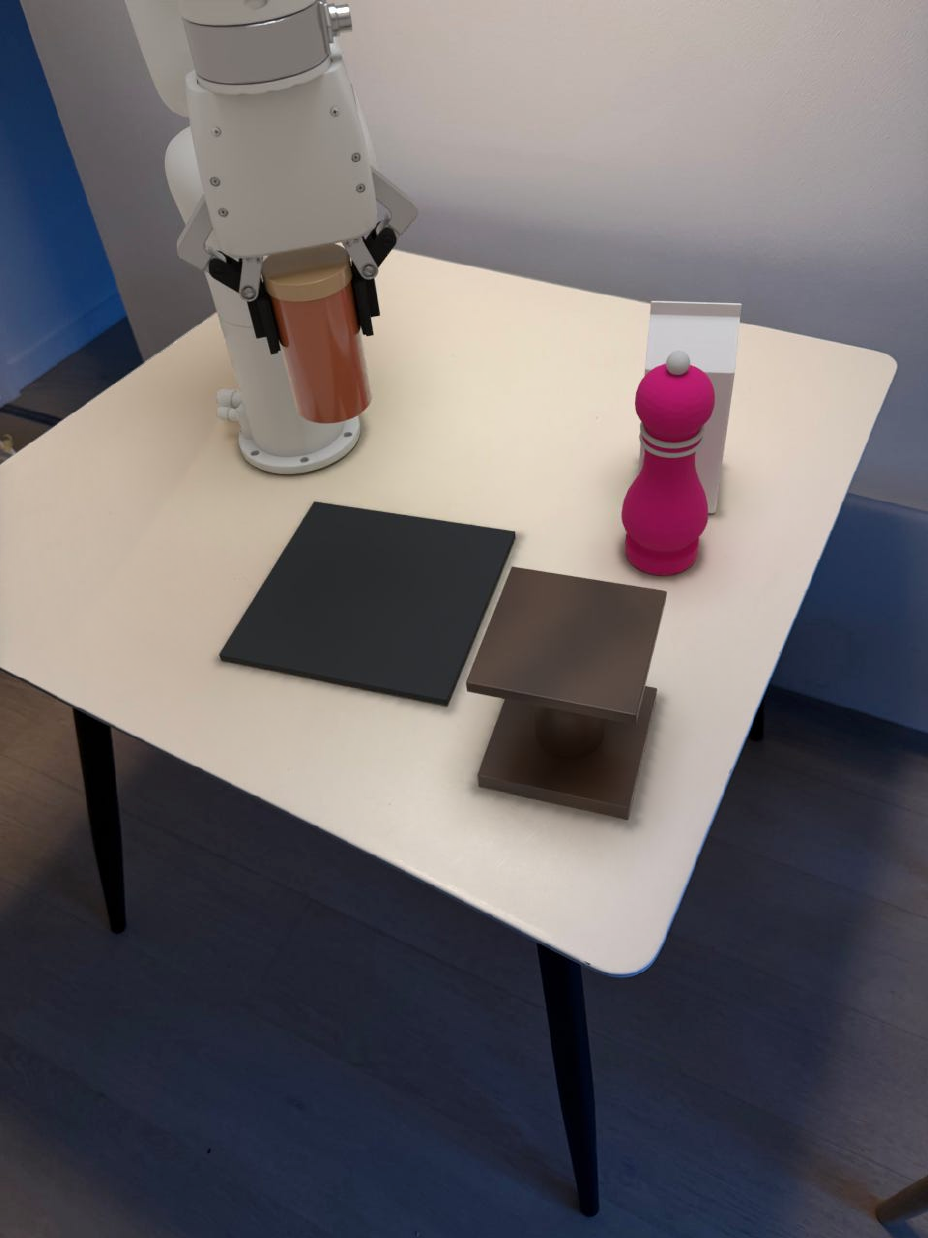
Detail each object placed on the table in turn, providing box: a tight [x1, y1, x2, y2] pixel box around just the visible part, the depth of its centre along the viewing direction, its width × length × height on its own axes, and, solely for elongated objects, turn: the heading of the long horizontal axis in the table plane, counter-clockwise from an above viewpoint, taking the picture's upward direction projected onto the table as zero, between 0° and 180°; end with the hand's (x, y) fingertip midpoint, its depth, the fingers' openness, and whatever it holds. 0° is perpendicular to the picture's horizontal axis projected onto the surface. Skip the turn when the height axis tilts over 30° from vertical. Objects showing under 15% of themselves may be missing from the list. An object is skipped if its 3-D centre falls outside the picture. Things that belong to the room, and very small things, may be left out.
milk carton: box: [638, 300, 743, 514], centre depth 86 cm, size 7×7×19 cm
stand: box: [465, 566, 668, 820], centre depth 70 cm, size 11×11×12 cm
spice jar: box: [261, 243, 373, 424], centre depth 68 cm, size 6×6×11 cm
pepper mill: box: [620, 351, 715, 576], centre depth 80 cm, size 7×7×20 cm
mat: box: [218, 500, 517, 707], centre depth 86 cm, size 20×20×1 cm
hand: (319, 332), depth 67 cm, fingers closed on spice jar, 5 cm apart
